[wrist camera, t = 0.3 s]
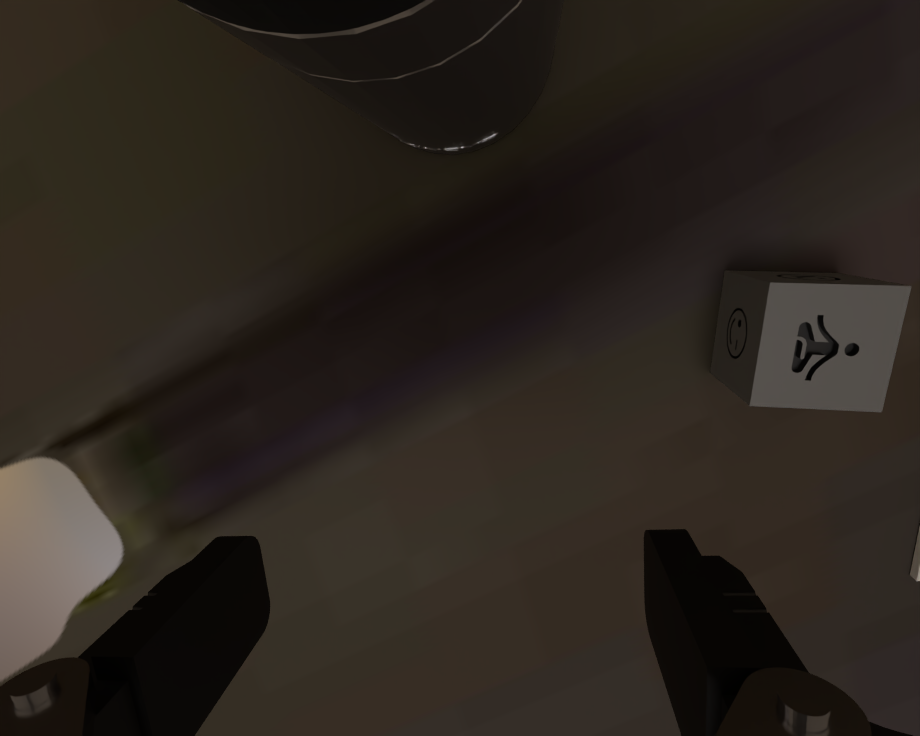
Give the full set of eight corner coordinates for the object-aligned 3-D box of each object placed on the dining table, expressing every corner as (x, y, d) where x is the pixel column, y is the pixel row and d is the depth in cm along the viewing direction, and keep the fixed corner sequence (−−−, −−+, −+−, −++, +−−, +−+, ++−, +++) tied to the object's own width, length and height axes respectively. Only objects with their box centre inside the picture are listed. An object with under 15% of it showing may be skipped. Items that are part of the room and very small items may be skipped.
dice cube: (724, 270, 26) (770, 282, 21) (837, 272, 25) (911, 285, 20) (709, 372, 27) (749, 406, 22) (816, 376, 26) (881, 412, 22)
